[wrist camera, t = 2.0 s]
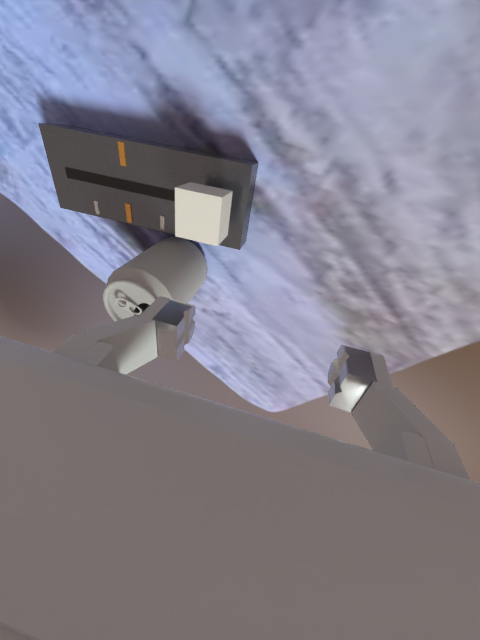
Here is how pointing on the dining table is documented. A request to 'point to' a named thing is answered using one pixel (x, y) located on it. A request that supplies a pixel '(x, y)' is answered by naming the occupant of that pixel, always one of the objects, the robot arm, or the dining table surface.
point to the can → (155, 278)
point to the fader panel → (141, 178)
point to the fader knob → (202, 213)
